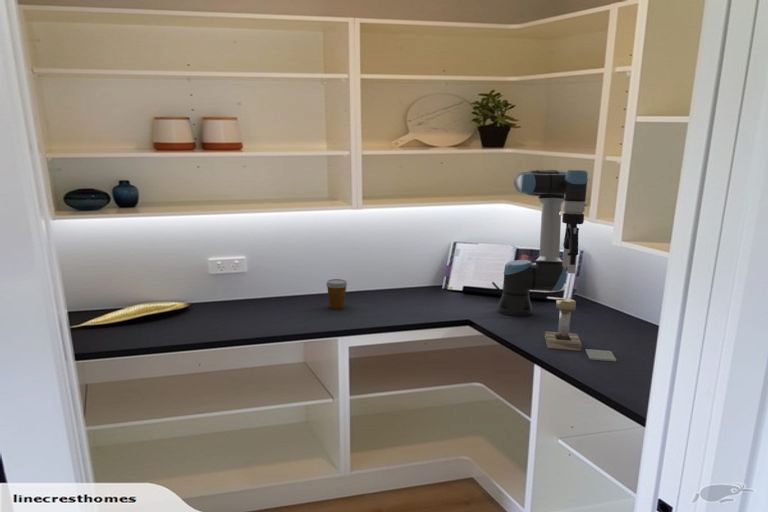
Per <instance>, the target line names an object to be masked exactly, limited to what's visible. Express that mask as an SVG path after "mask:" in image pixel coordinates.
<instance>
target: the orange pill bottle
mask: <svg viewBox="0 0 768 512" xmlns="http://www.w3.org/2000/svg"><path fill="white" fill-rule="evenodd" d="M347 286H348V283H347V280H345V279H342V278H341V279H340V278H336V279H335V278H334V279H333V278H332V279H328V280H327V281H326V287H327V294H328V302H329V308H330V309H334V310H335V309H337V310H338V309H343V308H344V305H345V298H346V292H347Z"/></svg>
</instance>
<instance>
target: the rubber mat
mask: <svg viewBox="0 0 768 512" xmlns="http://www.w3.org/2000/svg"><path fill="white" fill-rule="evenodd" d="M584 351H585V353H586V355H587V358H588V359H589V360H592V361H605V362H616V363H617V358H616V357H615V355H614V353H613V351H611V350H603V349H590V348H589V349H588V348H585V350H584Z"/></svg>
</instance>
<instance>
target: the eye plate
mask: <svg viewBox="0 0 768 512" xmlns="http://www.w3.org/2000/svg"><path fill="white" fill-rule="evenodd" d="M557 336H558V331H557V332H556V331H555V332H554V331H544V340H545V343H546V346H547V349H556V350H557V349H558V350H567V351H568V350H569V351H579V352H580V351H582V347H583V346H582V345H583V343H582V341H581V340H580V338H579V336H578V334H577V333H571V332H569V337H568V340H557Z"/></svg>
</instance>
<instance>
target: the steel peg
mask: <svg viewBox="0 0 768 512" xmlns="http://www.w3.org/2000/svg"><path fill="white" fill-rule="evenodd" d="M576 304H577V302H576V300H574V299H571V298H557V299H556V301H555V309H557V310H559V316H558V326H557V332H558V336H557V340H568V337H569V333H570V325H571V324H570V323H571V314H572V313H571V312H575V311H576V307H577V306H576Z"/></svg>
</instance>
